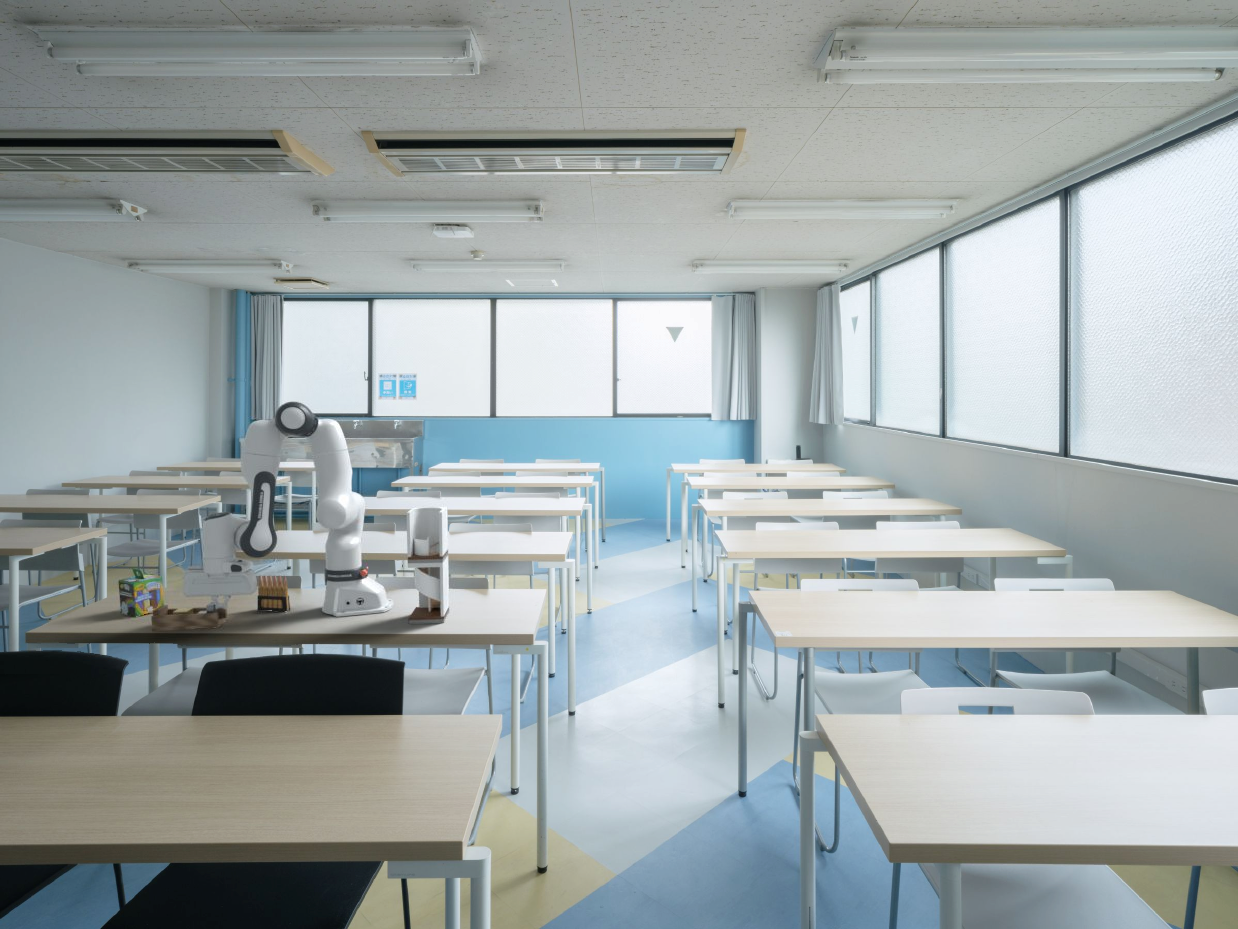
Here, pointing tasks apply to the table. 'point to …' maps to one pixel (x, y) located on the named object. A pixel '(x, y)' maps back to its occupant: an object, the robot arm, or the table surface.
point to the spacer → (183, 611)
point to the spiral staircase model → (429, 562)
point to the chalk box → (140, 594)
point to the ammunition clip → (273, 594)
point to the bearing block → (185, 619)
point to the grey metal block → (210, 609)
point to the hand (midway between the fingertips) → (221, 609)
